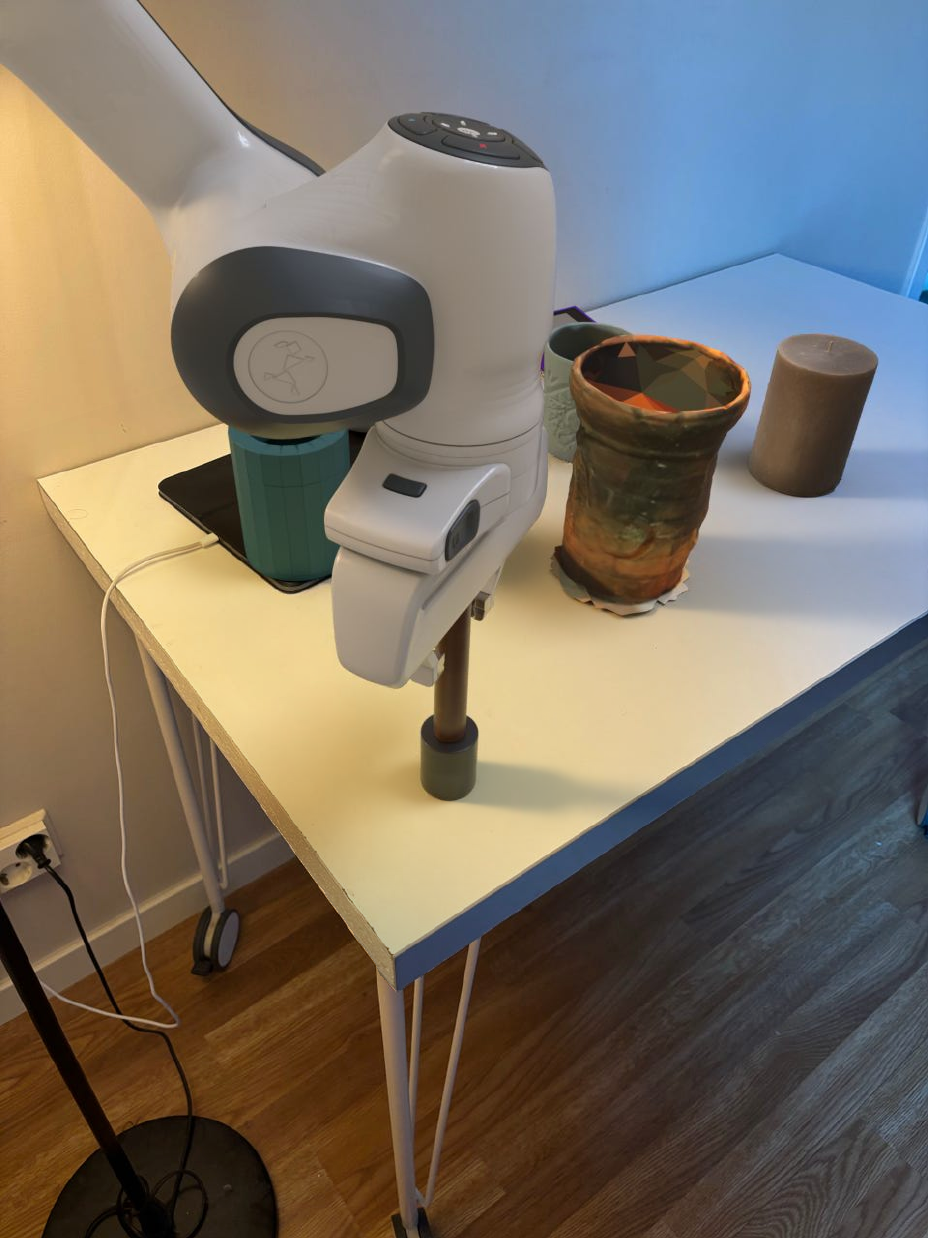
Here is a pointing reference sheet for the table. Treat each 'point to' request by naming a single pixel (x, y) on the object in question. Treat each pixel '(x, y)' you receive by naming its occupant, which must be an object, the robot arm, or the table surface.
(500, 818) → the table surface
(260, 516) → the container
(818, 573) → the table surface
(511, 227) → the robot arm
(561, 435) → the green embossed cup
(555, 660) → the table surface
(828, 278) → the table surface
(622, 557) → the vessel
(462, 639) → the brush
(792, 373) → the pillar candle
